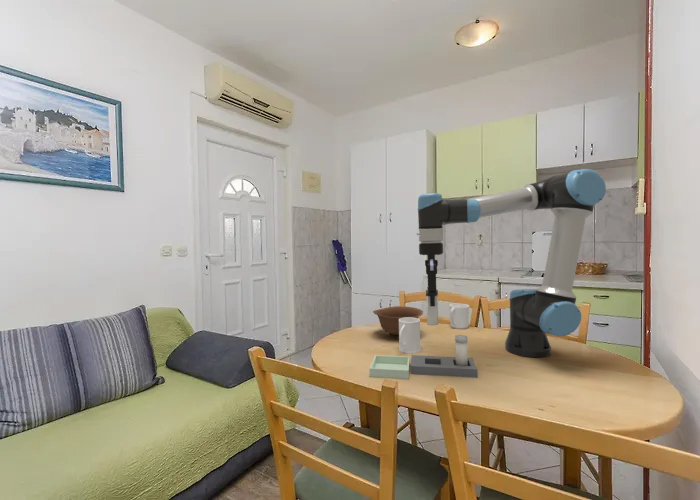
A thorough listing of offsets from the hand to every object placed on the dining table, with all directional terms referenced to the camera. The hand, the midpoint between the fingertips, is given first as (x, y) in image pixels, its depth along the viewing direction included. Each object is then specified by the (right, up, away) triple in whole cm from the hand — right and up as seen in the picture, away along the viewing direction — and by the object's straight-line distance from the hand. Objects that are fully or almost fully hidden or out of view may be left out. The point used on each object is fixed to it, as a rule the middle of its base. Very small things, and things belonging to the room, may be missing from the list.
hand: (432, 314), depth 112 cm
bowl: (-5, -17, +41) cm, 45 cm away
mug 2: (+24, -16, +51) cm, 59 cm away
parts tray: (-13, -19, +1) cm, 23 cm away
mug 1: (-5, -18, +19) cm, 27 cm away
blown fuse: (0, -3, 0) cm, 3 cm away
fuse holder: (+3, -19, 0) cm, 19 cm away
